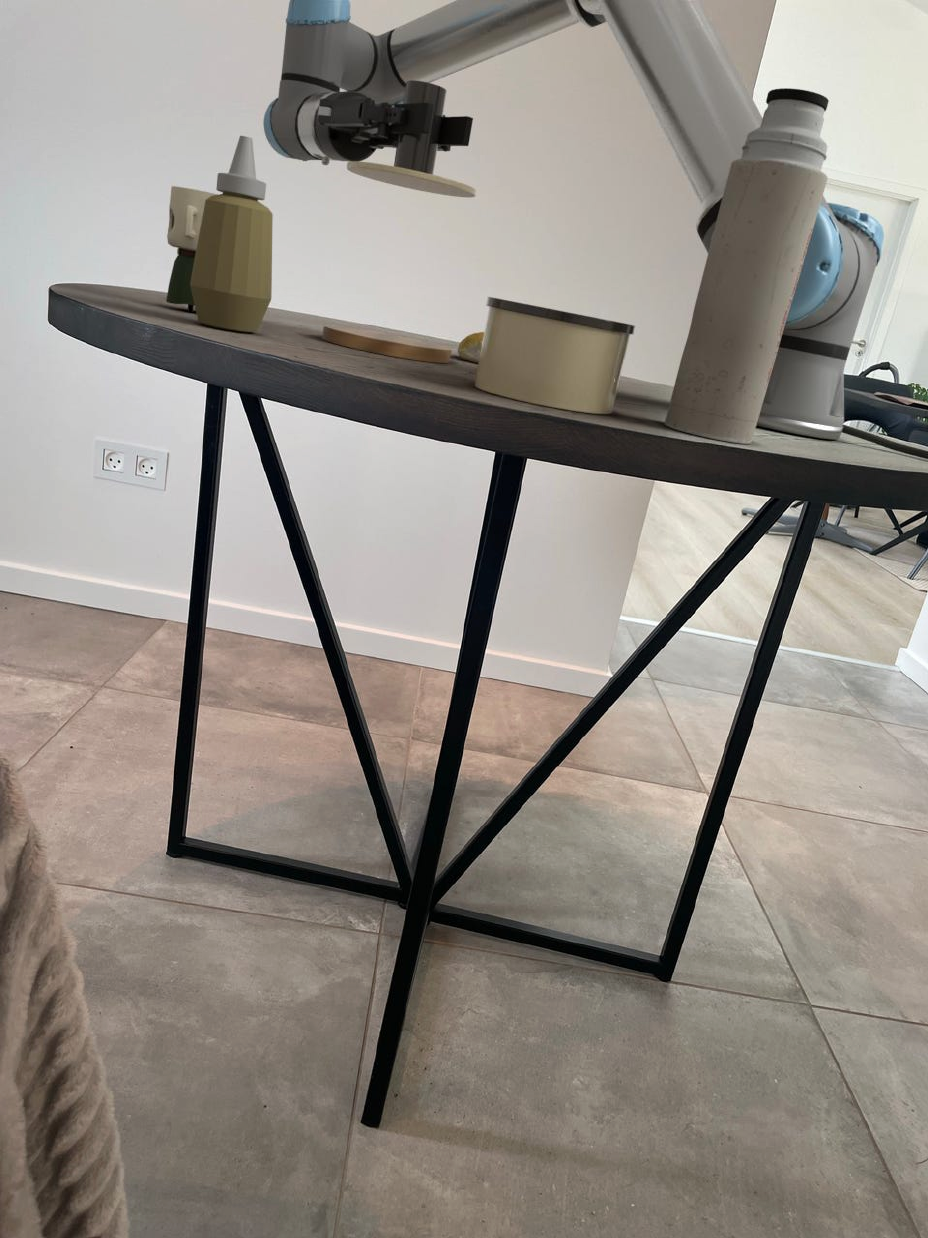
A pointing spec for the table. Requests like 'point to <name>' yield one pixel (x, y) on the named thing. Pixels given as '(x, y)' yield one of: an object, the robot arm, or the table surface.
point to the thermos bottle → (752, 270)
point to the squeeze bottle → (234, 249)
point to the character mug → (184, 240)
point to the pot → (552, 357)
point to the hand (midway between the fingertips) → (448, 124)
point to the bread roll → (471, 347)
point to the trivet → (386, 344)
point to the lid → (417, 151)
